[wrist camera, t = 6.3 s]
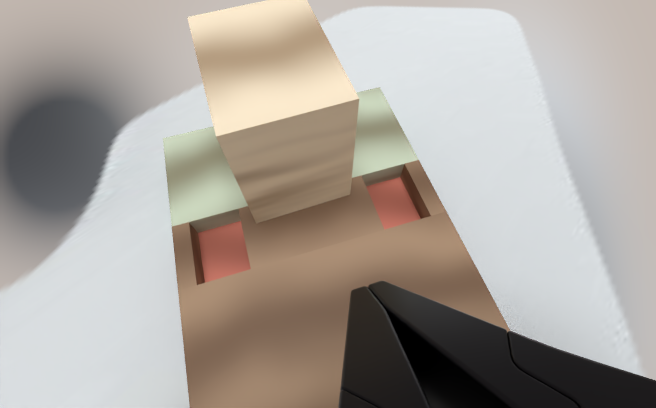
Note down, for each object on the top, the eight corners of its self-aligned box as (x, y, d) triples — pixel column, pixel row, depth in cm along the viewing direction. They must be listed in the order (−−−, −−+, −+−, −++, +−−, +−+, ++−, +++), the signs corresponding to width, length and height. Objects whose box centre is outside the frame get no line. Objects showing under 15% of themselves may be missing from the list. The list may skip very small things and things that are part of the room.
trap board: (501, 351, 19) (519, 348, 17) (210, 458, 17) (195, 466, 15) (376, 106, 27) (379, 87, 26) (174, 155, 25) (163, 138, 23)
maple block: (350, 194, 21) (359, 98, 14) (256, 223, 20) (215, 136, 13) (311, 104, 25) (302, -8, 18) (230, 126, 24) (187, 17, 17)
